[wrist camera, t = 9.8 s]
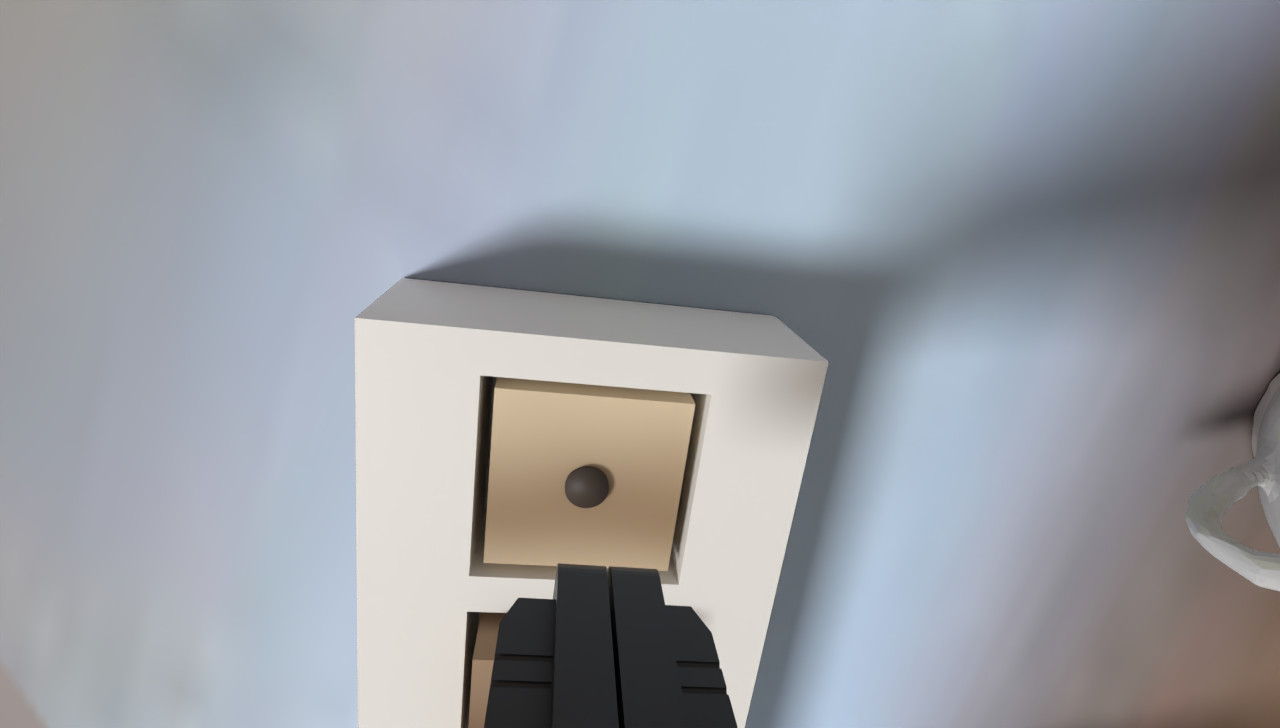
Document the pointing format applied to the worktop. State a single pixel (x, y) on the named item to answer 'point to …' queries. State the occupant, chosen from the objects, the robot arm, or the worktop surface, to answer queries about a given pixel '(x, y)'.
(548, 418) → the tile one
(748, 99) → the worktop surface
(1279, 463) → the teacup
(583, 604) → the robot arm
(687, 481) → the key panel
